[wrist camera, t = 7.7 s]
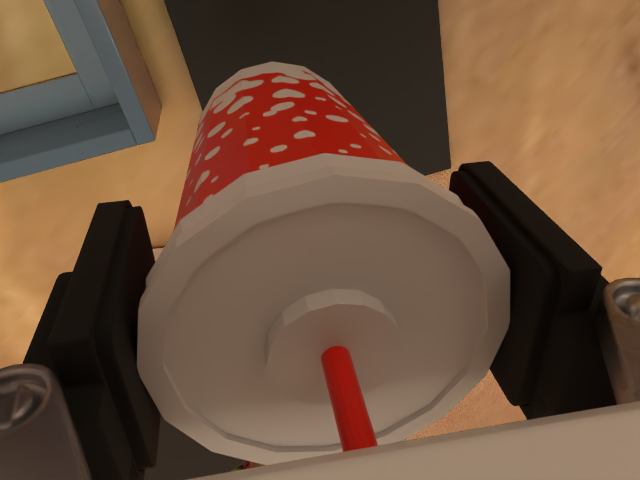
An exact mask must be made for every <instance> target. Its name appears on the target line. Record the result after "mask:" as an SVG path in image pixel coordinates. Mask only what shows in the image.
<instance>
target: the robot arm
mask: <svg viewBox="0 0 640 480" xmlns="http://www.w3.org/2000/svg"><path fill="white" fill-rule="evenodd" d="M449 191H451V192H452V193H454V194H456V195H458V197H459V198H460V200H461V202H462V203H463V205H465V206H466V207H468V208H470V209H471V210H473V211H474V213H475V214H476V215H477V216H478V217H479V218H480V220H481V221H482V223H483V225H484V227H485V228H486V230H487V232H488V233H489V235H490V237H491V238H492V240H493V242H494V244H495V245H496V247H497V249H498V250H499V252H500V254H501V256H502V257H503V259H504V261H505V262H506V264H507V266H508V267H509V269H510V322H509V327H508V330H507V332H506V334H505V337H504V339H503V341H502V343H501V345H500V347H499V349H498V351H497V353H496V355H495V357H494V360H493V362H492V364H491V366H490V368H489V369H490V370H491V372H492V374H493V375H494V377H495V379H496V381H497V382H498V384H499V386H500V387H501V389H502V391H503V392H504V394H505V396H506V398H507V399H508V401H509V402H510V403H511V404H512V405H513V406H518V405H519V406H520V408H521V410H522V411H523V413H524V415H525V416H526V418H527V420H524V421H518V422H512V423H506V424H500V425H495V426H489V427H483V428H477V429H471V430H466V431H460V432H454V433H448V434H442V435H437V436H431V437H425V438H419V439H413V440H408V441H402V442H396V443H390V444H385V445H379V446H373V447H368V448H362V449H356V450H350V451H345V452H339V453H333V454H327V455H322V456H316V457H310V458H305V459H299V460H293V461H288V462H282V463H277V464H271V465H266V466H260V467H254V468H249V469H243V470H238V471H232V472H226V473H221V474H215V475H210V476H204V477H198V478H193V479H187V480H640V278H623V279H618V280H615V281H613V282H611V283H609V282H608V281H607V280H606V279H605V278H604V277H603V276H602V275H601V271H602V267H601V266H600V265H599V264H598V263H597V262H596V261H595V260H594V259H593V258H592V257H591V256H590V255H589V254H588V253H586V252H585V251H584V250H583V249H582V248H581V247H580V246H579V245H578V244H577V243H576V242H575V241H574V240H573V239H572V238H571V237H570V236H569V235H567V234H566V233H565V232H564V231H563V230H562V229H561V228H560V227H559V226H558V225H557V224H556V223H555V222H554V221H553V220H552V219H551V218H549V217H548V216H547V215H546V214H545V213H544V212H543V211H542V210H541V209H540V208H539V207H538V206H537V205H536V204H535V203H534V202H533V201H531V200H530V199H529V198H528V197H527V196H526V195H525V194H524V193H523V192H522V191H521V190H520V189H519V188H518V187H517V186H516V185H515V184H513V183H512V182H511V181H510V180H509V179H508V178H507V177H506V176H505V175H504V174H503V173H502V172H501V171H500V170H499V169H498V168H497V167H496V166H494V165H493V164H492V163H491V162H489V161H484V162H475V163H466V164H462V165H461V166H460V167H459V170H458V171H454V172H453V173H452V175H451V178H450V186H449ZM155 262H156V261H155V257H154V253H153V249H152V245H151V241H150V237H149V233H148V229H147V225H146V221H145V217H144V213H143V210H142V208H141V206H137V207H132V205H131V203H130V201H129V200H125V201H116V202H107V203H99V204H98V205H97V208H96V210H95V213H94V216H93V218H92V221H91V224H90V227H89V229H88V232H87V235H86V237H85V240H84V243H83V245H82V248H81V251H80V254H79V256H78V259H77V262H76V264H75V267H74V270H73V272H65V273H62V274H60V275H59V276H58V278H57V279H56V282H55V284H54V287H53V289H52V292H51V294H50V297H49V299H48V302H47V304H46V307H45V309H44V312H43V314H42V317H41V319H40V322H39V324H38V326H37V329H36V331H35V334H34V336H33V339H32V341H31V344H30V346H29V349H28V351H27V354H26V356H25V359H24V361H23V364H16V365H12V366H8V367H5V368H1V369H0V480H144V476H145V469H146V468H152V467H155V465H156V460H157V450H158V439H159V429H160V419H161V413H160V411H159V409H158V408H157V406H156V404H155V402H154V401H153V399H152V397H151V395H150V394H149V392H148V390H147V389H146V387H145V385H144V383H143V382H142V380H141V378H140V375H139V372H138V369H137V340H138V309H139V304H140V298H141V297H142V295H143V293H144V292H145V290H146V277H147V276H148V274H149V272H150V271H151V269H152V267H153V265H154V264H155Z"/></svg>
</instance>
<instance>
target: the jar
mask: <svg viewBox="0 0 640 480" xmlns="http://www.w3.org/2000/svg"><path fill="white" fill-rule="evenodd" d="M162 250H163V248H156V249H153V253H154V257H155V261H156V260H157V259H158V257H159V255H160V253H161V252H162ZM246 461H247V460H243V459H239V458H235V457H231V456H227V455H223V454H219V453H215V452H212V451H210V450H209V449H207V448H206V447H204V446H203V445H201V444H200V443H198V442H197V441H195V440H194V439H192V438H191V437H189V436H188V435H186V434H185V433H183V432H182V431H180V430H179V429H177V428H176V427H174V426H173V425H171V424H170V423H168V422H167V421H165V420H164V418H163V416H162V415H161V419H160V429H159V439H158V450H157V460H156V465H155V467H152V468H146V469H145V476H144V480H187V479H193V478H198V477H204V476H210V475H215V474H221V473H226V472H231V471H233V470H235V469H236V468H238V467H239V466H241V465H242V464H243V463H245V462H246Z"/></svg>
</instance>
